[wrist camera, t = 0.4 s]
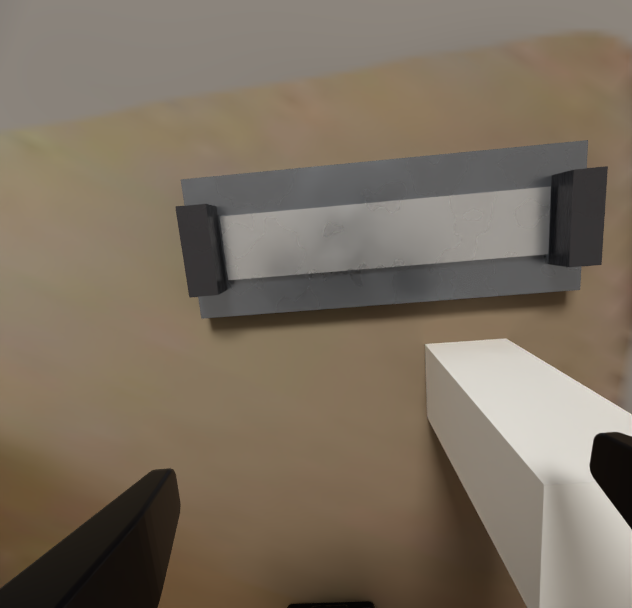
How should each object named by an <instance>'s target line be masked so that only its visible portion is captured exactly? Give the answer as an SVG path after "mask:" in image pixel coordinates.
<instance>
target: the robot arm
mask: <svg viewBox="0 0 632 608" xmlns="http://www.w3.org/2000/svg"><path fill="white" fill-rule="evenodd" d="M589 467H590V472H591V474H592V477H593V478H594V480H595V481H596V482H597V484H598V485H599V486H600V488H601V489H602V490H603V492H604V493H605V495H606V496H607V497H608V499H609V500H610V501H611V503H612V504H613V505H614V507H615V508H616V509H617V511H618V512H619V513H620V515H621V516H622V517H623V519H624V520H625V521H626V523H627V524H628V525H629V527H630V528H631V529H632V436H629V435H626V434H623V433H620V432H605V433H599V434H596V436H595V437H594V439H593V445H592V451H591V458H590V464H589ZM179 515H180V498H179V491H178V485H177V479H176V474H175V472H174V470H173V469H171V468H169V469H156V470H152V471H151V472H149V473H148V474H147V475H145V476H144V477H143V478H141V479H140V480H139V481H138V482H136V483H135V484H134V485H133V486H131V487H130V488H129V489H127V490H126V491H125V492H124V493H122V494H121V495H120V496H118V497H117V498H116V499H115V500H113V501H112V502H111V503H109V504H108V505H107V506H106V507H104V508H103V509H102V510H100V511H99V512H98V513H97V514H95V515H94V516H93V517H91V518H90V519H89V520H88V521H86V522H85V523H84V524H82V525H81V526H80V527H79V528H77V529H76V530H75V531H74V532H72V533H71V534H70V535H68V536H67V537H66V538H65V539H63V540H62V541H61V542H59V543H58V544H57V545H56V546H54V547H53V548H52V549H50V550H49V551H48V552H47V553H45V554H44V555H43V556H41V557H40V558H39V559H38V560H36V561H35V562H34V563H32V564H31V565H30V566H29V567H27V568H26V569H25V570H23V571H22V572H21V573H20V574H18V575H17V576H16V577H14V578H13V579H12V580H11V581H9V582H8V583H7V584H5V585H4V586H3V587H2V588H0V608H157V607H158V604H159V601H160V597H161V593H162V589H163V585H164V581H165V577H166V572H167V568H168V563H169V559H170V554H171V550H172V546H173V541H174V537H175V532H176V528H177V524H178V519H179ZM287 608H375V606H374V604H373V603H371V602H342V603H312V604H291V605H289V606H288V607H287Z"/></svg>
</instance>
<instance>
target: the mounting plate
mask: <svg viewBox="0 0 632 608" xmlns="http://www.w3.org/2000/svg"><path fill="white" fill-rule="evenodd" d="M587 151H588V140H586V141H575V142H565V143H555V144H544V145H534V146H524V147H513V148H503V149H493V150H482V151H472V152H461V153H451V154H441V155H430V156H420V157H410V158H399V159H389V160H379V161H368V162H358V163H348V164H337V165H327V166H317V167H306V168H296V169H286V170H275V171H265V172H255V173H244V174H234V175H224V176H213V177H203V178H193V179H182V180H181V184H182V191H183V198H184V204H185V206H176V213H177V220H178V226H179V233H180V239H181V246H182V252H183V259H184V265H185V272H186V278H187V285H188V291H189V297H198V298H199V305H200V312H201V318H215V317H228V316H241V315H254V314H268V313H281V312H294V311H307V310H320V309H333V308H347V307H360V306H373V305H386V304H399V303H412V302H426V301H439V300H452V299H465V298H478V297H491V296H505V295H518V294H531V293H544V292H557V291H570V290H580V281H581V266H592V265H601V262H602V247H603V231H604V215H605V200H606V184H607V169H608V166H607V167H596V168H587Z"/></svg>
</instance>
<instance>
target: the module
mask: <svg viewBox="0 0 632 608" xmlns="http://www.w3.org/2000/svg"><path fill="white" fill-rule="evenodd" d="M425 364H426V398H427V418H428V420H429V422H430V424H431V426H432V427H433V429H434V431H435V433H436V435H437V437H438V439H439V441H440V443H441V445H442V446H443V448H444V450H445V452H446V454H447V456H448V458H449V460H450V462H451V464H452V466H453V467H454V469H455V471H456V473H457V475H458V477H459V479H460V481H461V483H462V485H463V486H464V488H465V490H466V492H467V494H468V496H469V498H470V500H471V502H472V504H473V505H474V507H475V509H476V511H477V513H478V515H479V517H480V519H481V521H482V523H483V524H484V526H485V528H486V530H487V532H488V534H489V536H490V538H491V540H492V542H493V544H494V545H495V547H496V549H497V551H498V553H499V555H500V557H501V559H502V561H503V563H504V564H505V566H506V568H507V570H508V572H509V574H510V576H511V578H512V580H513V582H514V583H515V585H516V587H517V589H518V591H519V593H520V595H521V597H522V599H523V601H524V602H525V604H526V606H527V608H632V529H631V528H630V527H629V525H628V524H627V523H626V521H625V520H624V519H623V517H622V516H621V515H620V513H619V512H618V511H617V509H616V508H615V507H614V505H613V504H612V503H611V501H610V500H609V499H608V497H607V496H606V495H605V493H604V492H603V490H602V489H601V488H600V486H599V485H598V484H597V482H596V481H595V480H594V478H593V477H592V474H591V472H590V467H589V464H590V458H591V451H592V445H593V439H594V437H595V436H596V434H599V433H605V432H620V433H623V434H626V435H629V436H632V414H630V413H628V412H627V411H625V410H623V409H622V408H620V407H618V406H617V405H615V404H613V403H612V402H610V401H609V400H607V399H605V398H604V397H602V396H600V395H599V394H597V393H595V392H594V391H592V390H590V389H589V388H587V387H585V386H584V385H582V384H580V383H579V382H577V381H575V380H574V379H572V378H570V377H569V376H567V375H566V374H564V373H562V372H561V371H559V370H557V369H556V368H554V367H552V366H551V365H549V364H547V363H546V362H544V361H542V360H541V359H539V358H537V357H536V356H534V355H532V354H531V353H529V352H527V351H526V350H524V349H523V348H521V347H519V346H518V345H516V344H514V343H513V342H511V341H509V340H508V339H493V340H478V341H464V342H450V343H435V344H425Z"/></svg>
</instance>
